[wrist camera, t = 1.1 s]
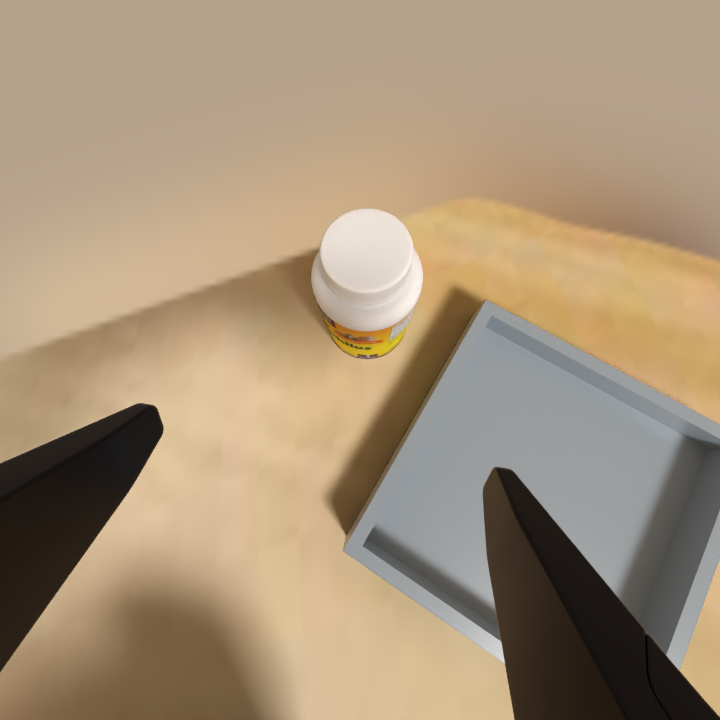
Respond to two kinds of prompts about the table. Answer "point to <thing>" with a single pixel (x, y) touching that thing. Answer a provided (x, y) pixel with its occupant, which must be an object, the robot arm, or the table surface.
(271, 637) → the table surface
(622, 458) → the tray
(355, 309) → the supplement bottle
